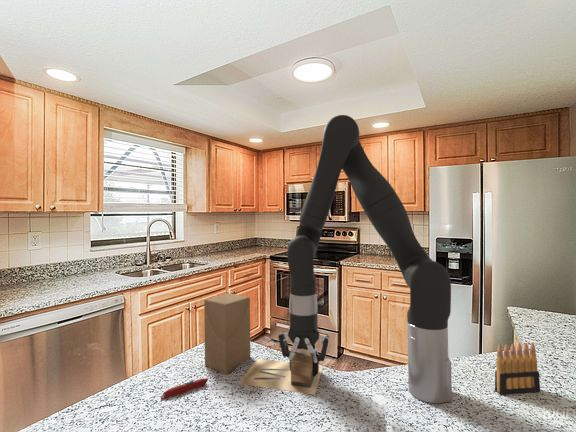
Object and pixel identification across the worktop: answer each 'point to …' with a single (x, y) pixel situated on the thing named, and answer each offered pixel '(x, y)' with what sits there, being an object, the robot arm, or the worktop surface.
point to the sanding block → (302, 369)
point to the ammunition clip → (516, 370)
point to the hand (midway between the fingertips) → (304, 373)
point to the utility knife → (184, 388)
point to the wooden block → (226, 331)
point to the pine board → (276, 377)
